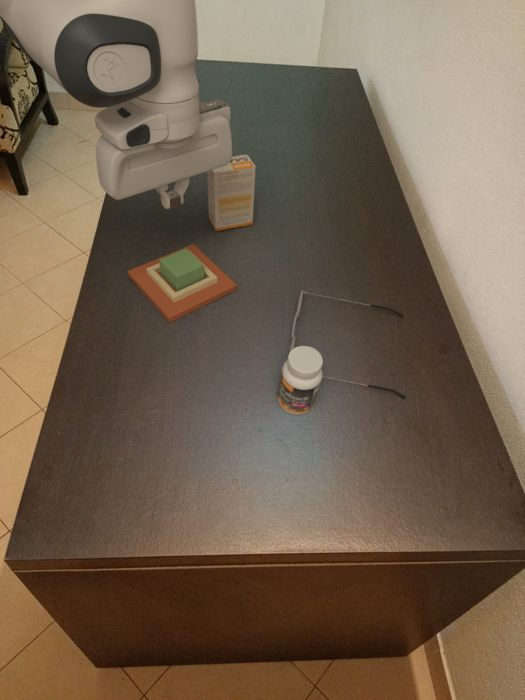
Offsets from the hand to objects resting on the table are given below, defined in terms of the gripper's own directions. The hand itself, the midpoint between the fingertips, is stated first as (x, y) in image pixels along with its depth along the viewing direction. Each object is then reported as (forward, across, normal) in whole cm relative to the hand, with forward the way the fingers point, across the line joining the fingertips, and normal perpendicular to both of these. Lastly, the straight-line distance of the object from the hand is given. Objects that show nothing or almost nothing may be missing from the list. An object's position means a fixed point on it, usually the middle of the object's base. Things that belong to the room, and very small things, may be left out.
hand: (172, 204), depth 72 cm
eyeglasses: (+16, -15, +28) cm, 36 cm away
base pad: (+16, -1, 0) cm, 16 cm away
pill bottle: (+16, -1, +31) cm, 35 cm away
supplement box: (+16, -19, -10) cm, 26 cm away
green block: (+15, -1, 0) cm, 15 cm away
